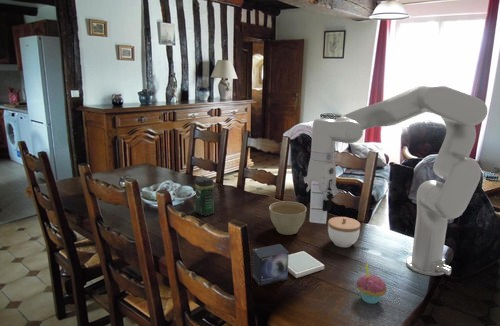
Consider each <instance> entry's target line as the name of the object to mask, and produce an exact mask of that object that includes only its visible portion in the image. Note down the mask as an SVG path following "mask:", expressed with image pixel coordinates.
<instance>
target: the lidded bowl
mask: <svg viewBox="0 0 500 326" xmlns="http://www.w3.org/2000/svg"><path fill="white" fill-rule="evenodd" d="M360 230H361V223H360V222H359V220H356V219H355V218H350V217H347V216H334V217H331V218H329V220H328V221H327V231H328V236H329V238H330V240H331V241H332V242H333V244H334V245H335V246H337V247H340V248H350V247H351V246H352V245H353V244H355V243H356V242H357V241H358V239H359V235H360Z"/></svg>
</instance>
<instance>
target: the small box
mask: <svg viewBox="0 0 500 326" xmlns="http://www.w3.org/2000/svg"><path fill="white" fill-rule="evenodd" d="M289 253H290V252H289V250H287V249H286V248H285V247H284V246H283V245H282V244H281V243H277V244H273V245H272V244H271V245H268V246H262V247H258V248H257V247H256V248H253V249H252V275H251V277H252V278H253V280H254V281H255V283H256V284H257V285H258V286H259V287H262V286H265V285H269V284H274V283H279V282H283V281H287V280H288V275H289V274H288V273H289V272H288V255H290V254H289Z"/></svg>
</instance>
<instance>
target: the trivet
mask: <svg viewBox="0 0 500 326" xmlns="http://www.w3.org/2000/svg"><path fill="white" fill-rule="evenodd" d="M323 270H325V264H323V263H322V262H321V261H319V260H318V259H316V258H315V257H313V256H312V255H310V254H309V253H307V252H306V251H304V250H303V251H299V252H298V251H297V252H295V253H291V254H288V273H289V274H291V275H292V276H293V277H295V278H296V279H298V278H301V277H304V276H307V275H311V274H313V273H316V272H319V271H320V272H321V271H323Z"/></svg>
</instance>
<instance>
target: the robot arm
mask: <svg viewBox="0 0 500 326" xmlns="http://www.w3.org/2000/svg"><path fill="white" fill-rule="evenodd" d="M424 113H429V114H430V113H431V114H434V115H436V116H437V115H438V116H439V117H441V118H442V121H444V124H445V125H444V126H445V129H446V130H445V131H446V132H445V137H444V140H443V142H442V144H441V147H440V148H439V151H438V153H437V155H436V157H435V160H434V162H433V165H432V166H433V167H432V170H433V173H434V174H435V175H436V176H437V177H439V178H440V179H442V180H444V181H445V182H444V183H443V182H441V181H438V180H435V179H434V180H433V179H431V180H425V181H424V182H422V183H421V184H420V185H419V187H417V188H418V189H417V191H416V220H415V228H414V236H413V246H412V250H411V251H412V253H411V256H408V257H407V258H406V265H407V267H408V268H410V270H412V271H414V272H416V273H418V274H421V275H426V276H432V277H436V276H442V275H444V274H445V275H447V276H450V275H451V274H452V270H453V269H452V268H453V267H451V266H449V265H447V264H446V259H445V258H444V257H443V256H444V247H445V241H446V234H447V229H448V220H454V219H456V218H459V217H460V216H462V214H463V213H464V212H465V211H466V209H467V207H468V205H469V204H470V201H471V199H472V197H473V195H474V193H475V191H476V190H477V187H478V185H479V183H480V180H481V178H482V177H481V175H482V169H481V166H480V164H479V162H477V161H476V160H475V159H474V158H472V157H470V155H471V154H472V153H471V152H472V150H473V148H474V145H475V143H476V138H477V129H476V126H477V125H479V124H481V123H482V122H483V121H484V120H486V117H487V116H488V107H487V104H486V103H485V101H483V100H482V99H480V98H479V97H476V96H473V95H470V94H468V93H465V92H462V91H459V90H456V89H454V88H452V87H448V86H446V85H443V84H432V83H431V84H428V83H427V84H421V85H418V86H415V87H413V88H411V89H408V90H406V91H404V92H401V93H399V94H396V95H394V96H392V97H390V98H389V97H388V98H387V99H385V100H382V101H378V102H375V103H373V104H370V105H367V106H364V107H362V108H358V109H355V110H353V111H351V112H348V113H347V114H344V115H341V116H340V117H338V118H336V119H335V120H334V119H331V118H316V119H314V121H313V122H312V131H311V132H312V133H311V135H312V136H311V149H310V158H309V162H308V167H307V175H305V177H303V181H304V185H305V188H306V190H305V191H306V192H307V193H306V203H307V204H310V200H311V182H312V180H314V181H317V182H318V184H319V190H320V191H321V192H323V195H324V198H325V199H324V200H323V209H322V210H323V211H327V212H329V211H331V210H332V201H333V200H334V198H335V197H336V195H337V194H338V193H339V189H338V188H337V185H336V184H337V169H336V168H337V167H336V162H335V161H334V160H335V148H336V147H335V146H336V143H344V144H354V143H357V142H358V141H360V140H361V139H362V137H363V132H364V131H365V130H368V129H372V128H375V127H376V128H378V127H390V126H395V125H398V124H400V123H402V122H405V121H407V120H409V119H412V118H415V117H417V116H419V115H422V114H424ZM327 188H328V190H327ZM327 192H328V196H327Z"/></svg>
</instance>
